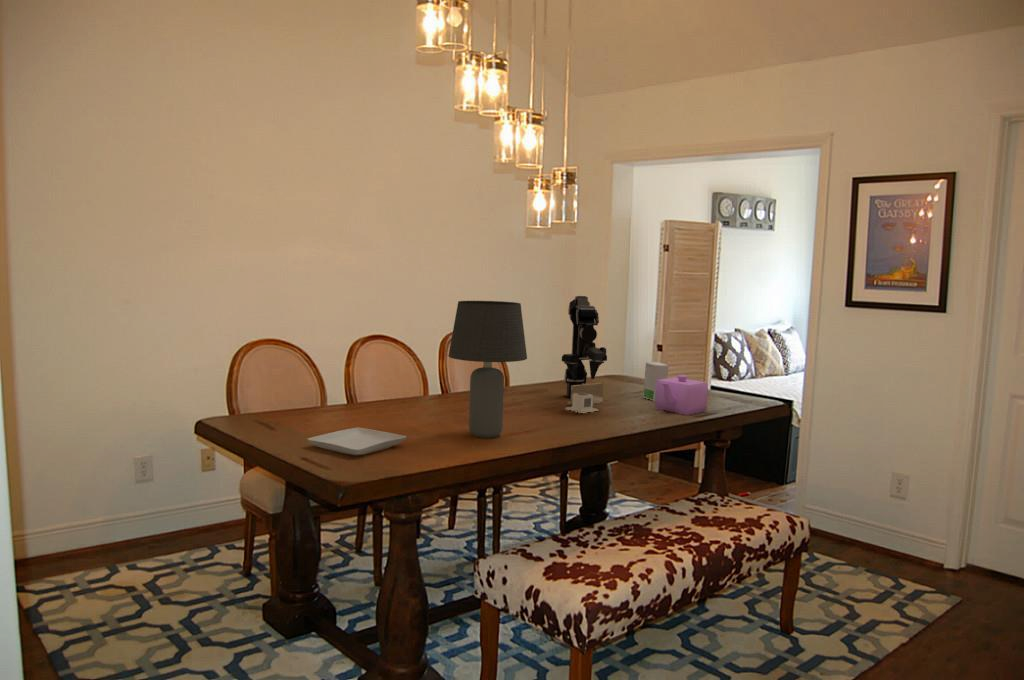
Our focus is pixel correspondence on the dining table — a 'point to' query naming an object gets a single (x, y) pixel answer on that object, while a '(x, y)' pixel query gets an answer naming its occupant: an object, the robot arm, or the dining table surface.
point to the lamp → (487, 356)
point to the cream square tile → (581, 410)
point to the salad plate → (357, 441)
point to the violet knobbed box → (681, 395)
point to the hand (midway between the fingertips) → (583, 379)
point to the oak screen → (589, 391)
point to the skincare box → (653, 378)
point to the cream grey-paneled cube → (582, 401)
